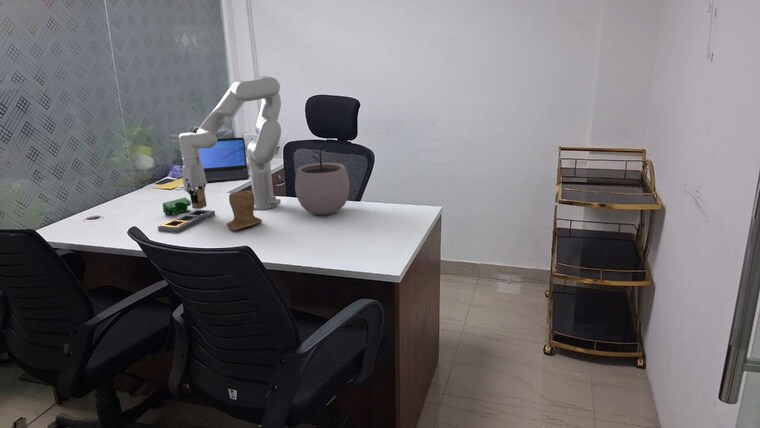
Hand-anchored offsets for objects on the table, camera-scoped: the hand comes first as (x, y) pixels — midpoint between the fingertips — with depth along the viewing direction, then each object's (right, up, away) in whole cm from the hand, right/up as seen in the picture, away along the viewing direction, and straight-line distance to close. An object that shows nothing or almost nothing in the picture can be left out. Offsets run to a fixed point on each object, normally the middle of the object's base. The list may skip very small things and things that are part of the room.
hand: (198, 201), depth 241 cm
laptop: (-15, +17, +82) cm, 85 cm away
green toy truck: (-13, -6, +10) cm, 17 cm away
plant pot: (+56, -6, +1) cm, 56 cm away
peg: (0, -3, +1) cm, 3 cm away
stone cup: (+23, -11, -12) cm, 28 cm away
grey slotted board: (-3, -10, -5) cm, 11 cm away
